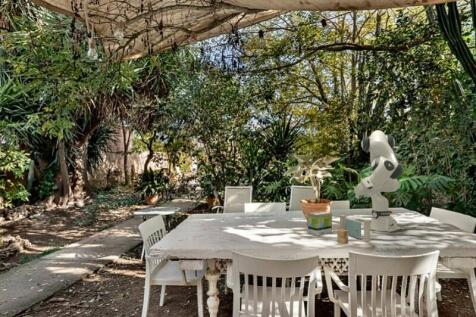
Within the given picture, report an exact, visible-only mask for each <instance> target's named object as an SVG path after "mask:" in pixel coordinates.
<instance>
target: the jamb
mask: <svg viewBox="0 0 476 317" xmlns="http://www.w3.org/2000/svg"><path fill="white" fill-rule="evenodd" d="M370 226H371V220H370V219H369V220H368V219H367V220H366V219H365V220H363V238H364V239H363V240H364V241H366V242H368V241H371V229H370Z"/></svg>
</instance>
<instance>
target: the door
mask: <svg viewBox="0 0 476 317" xmlns="http://www.w3.org/2000/svg"><path fill="white" fill-rule="evenodd" d="M345 230H348V235H350V236H349V237H351V236H353V237H352V238H356V239H359V240H362V239H361V238H362V222H361V221H358V220H354V219H351V218H348V217H346V218H345Z"/></svg>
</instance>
